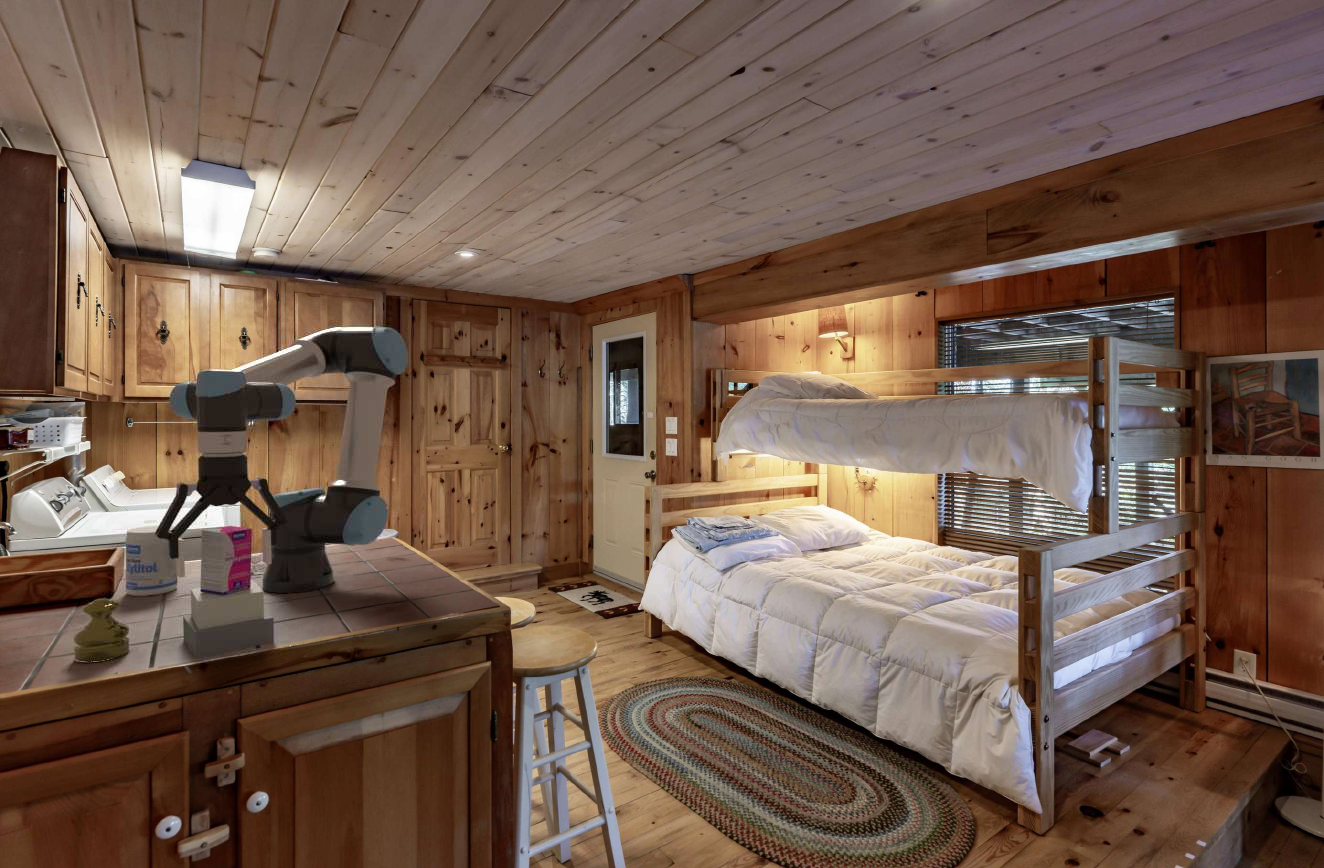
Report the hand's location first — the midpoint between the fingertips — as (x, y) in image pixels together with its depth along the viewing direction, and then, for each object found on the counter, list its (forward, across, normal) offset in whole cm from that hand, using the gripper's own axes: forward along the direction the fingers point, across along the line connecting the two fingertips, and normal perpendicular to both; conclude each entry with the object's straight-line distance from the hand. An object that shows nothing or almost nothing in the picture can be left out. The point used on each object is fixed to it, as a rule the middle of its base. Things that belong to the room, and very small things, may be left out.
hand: (225, 569), depth 122 cm
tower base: (+14, 0, 0) cm, 14 cm away
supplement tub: (+14, -4, +49) cm, 51 cm away
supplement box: (+4, 0, 0) cm, 4 cm away
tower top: (+9, 0, 0) cm, 9 cm away
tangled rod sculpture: (+14, +17, +55) cm, 60 cm away
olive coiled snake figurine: (+14, -17, +7) cm, 23 cm away
